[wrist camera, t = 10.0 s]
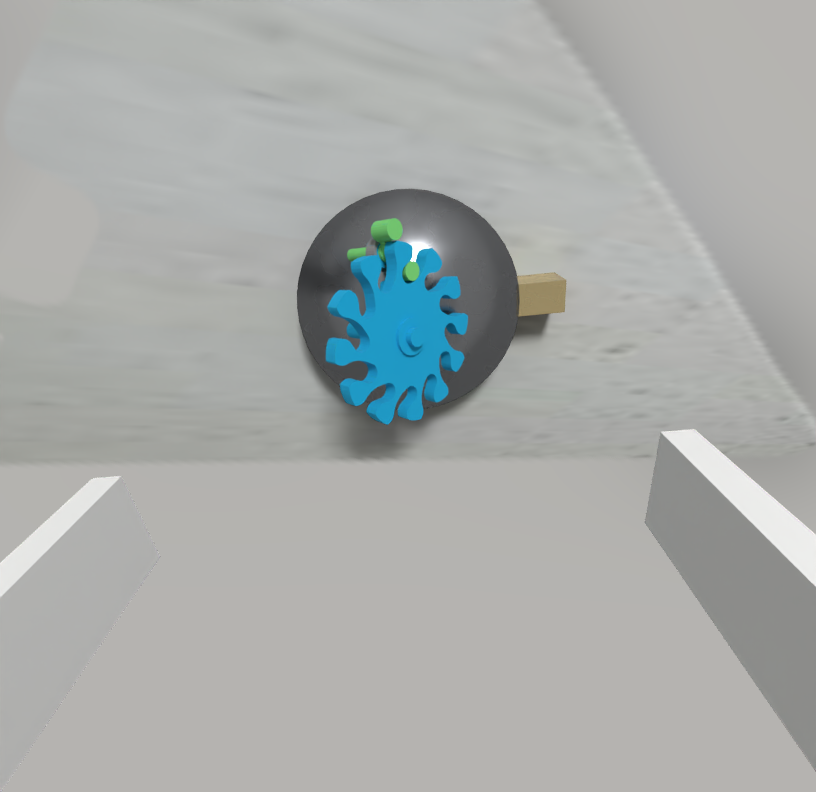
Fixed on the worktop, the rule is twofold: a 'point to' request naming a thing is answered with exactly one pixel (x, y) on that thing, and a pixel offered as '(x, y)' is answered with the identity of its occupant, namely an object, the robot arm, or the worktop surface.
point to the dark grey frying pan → (426, 283)
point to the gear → (396, 325)
